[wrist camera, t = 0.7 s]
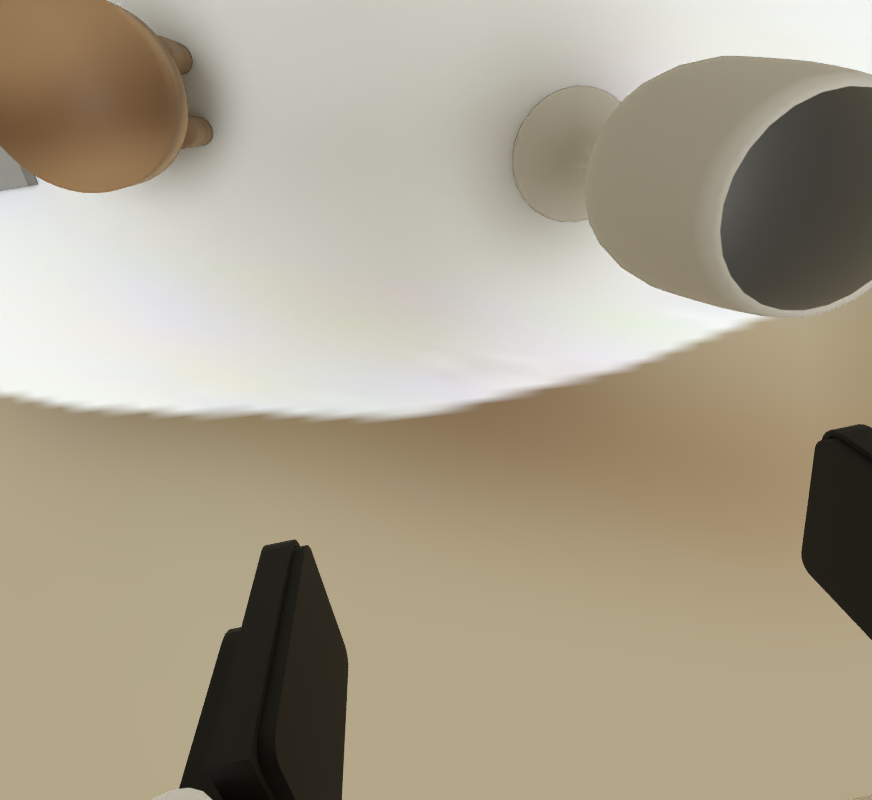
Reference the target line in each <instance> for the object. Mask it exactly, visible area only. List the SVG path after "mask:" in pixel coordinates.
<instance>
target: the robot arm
mask: <svg viewBox="0 0 872 800" xmlns="http://www.w3.org/2000/svg"><path fill="white" fill-rule="evenodd" d="M802 561H803V564H804V566H805V568H806V570H807V571H808V573H809V574H810V575H811V576H812V577H813V578H814V580H815V581H816V582H817V583H818V584H819V585H820V586H821V587H822V588H823V589H824V590H825V591H826V592H827V593H828V594H829V595H830V596H831V597H832V598H833V600H835V602H837V604H838V605H839V606H840V607H841V608H842V609H843V610H844V611H845V612H846V613H847V614H848V615H849V616H850V618H851V619H852V620H853V621H854V622H855V623H856V624H857V625H858V626H859V627H860V628H861V629H862V630H863V631H864V632H865V633H866V634H867V635H868V637H869V638H870V639H871V640H872V428H871V427H869V426H866V425H861V424H858V425H854V426H849V427H844V428H839V429H835V430H830V431H828V432H826V433H825V434H824V436H823V438H822V440H821V441H819V442H818V443H817V444H816V447H815V452H814V460H813V468H812V475H811V483H810V491H809V499H808V506H807V514H806V522H805V529H804V537H803V545H802ZM347 682H348V658H347V652H346V648H345V645H344V642H343V639H342V636H341V633H340V630H339V628H338V625H337V622H336V619H335V616H334V613H333V611H332V608H331V605H330V602H329V599H328V596H327V594H326V591H325V588H324V585H323V582H322V579H321V577H320V574H319V571H318V568H317V565H316V563H315V560H314V557H313V554H312V551H311V549H310V547H309V546H308V545H306V546H301V547H300V545H299V543H298V542H297V541H296V540H289V541H284V542H280V543H275V544H270V545H265V546H264V547H263V549H262V551H261V555H260V559H259V563H258V567H257V570H256V574H255V578H254V581H253V585H252V589H251V593H250V597H249V601H248V604H247V608H246V612H245V616H244V620H243V623H242V627H240V628H235V629H230V630H229V631H228V632H227V633H226V634H225V636H224V639H223V641H222V644H221V647H220V651H219V654H218V658H217V661H216V664H215V668H214V671H213V675H212V678H211V681H210V685H209V688H208V692H207V695H206V698H205V702H204V705H203V709H202V713H201V716H200V719H199V723H198V726H197V729H196V733H195V736H194V740H193V743H192V746H191V750H190V753H189V757H188V760H187V764H186V767H185V770H184V774H183V777H182V781H181V784H180V787H179V789H175V790H171V791H169V792H167V793H164V794H162V795H159V796H157V797H155V798H154V799H153V800H342V783H343V782H342V781H343V763H344V762H343V761H344V741H345V722H346V702H347ZM849 800H872V795H868V796H864V797H859V798H854V799H849Z"/></svg>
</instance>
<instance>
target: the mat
mask: <svg viewBox="0 0 872 800" xmlns="http://www.w3.org/2000/svg"><path fill="white" fill-rule="evenodd" d="M37 184H38V183H37V180H36V178H35V176H34V174H32V173H31V172H29V171H28V170H26V169H25V168H23V167H22V166H21V165H20V164H19V163H17V162H16V161H15V160H14V159H13V158H12V157H11V156H10V155H9V154H8V153H7V152H6V151H5V150H4V149H3V148H2V147H1V146H0V191H2V190H8V189H14V188H20V187H27V186H32V185H37Z"/></svg>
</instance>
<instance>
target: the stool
mask: <svg viewBox="0 0 872 800" xmlns="http://www.w3.org/2000/svg"><path fill="white" fill-rule="evenodd" d="M191 67H192V56H191V54H190V52H189V50H188V49H187V48H186V47H185V46H184V45H182V44H180V43H177V42H174V41H172V40H169V39H166V38H164V37H161V36H158V35H156V34H155V33H154V32H153V31H152V30H151V29H150V28H149V27H148V26H147V25H146V24H144V23H143V22H142V21H141V20H140V19H139V18H137V17H136V16H134V15H133V14H131V13H130V12H128V11H127V10H125V9H123V8H121V7H119V6H117V5H115V4H113V3H111V2H108V1H106V0H0V146H1V147H2V148H3V149H4V150H5V151H6V152H7V153H8V154H9V155H10V156H11V157H12V158H13V159H14V160H15V161H16V162H17V163H19V164H20V165H21V166H22V167H23V168H25V169H26V170H28V171H29V172H31V173H32V174H34V175H35V176H37V177H39V178H41V179H42V180H44V181H46V182H48V183H51V184H53V185H55V186H58V187H61V188H64V189H68V190H71V191H77V192H83V193H102V192H109V191H114V190H118V189H121V188H125V187H129V186H132V185H136V184H139V183H142V182H145V181H147V180H150V179H152V178H154V177H155V176H157V175H159V174H160V173H161V172H162V171H164V170H165V169H166V168H167V167H168V166H169V165H170V164H171V163H172V162H173V160H174V159H175V157H176V156H177V154H178V153H179V151H180V149H185V148H191V147H197V146H203V145H206V144H208V143H209V142H210V141H211V139H212V137H213V130H212V127H211V125H210V124H209V122H208V121H207V120H205V119H204V118H201V117H188V102H187V95H186V91H185V86H184V83H183V80H182V77H181V74H185V73H187V72H188V71H189V70H190V69H191Z"/></svg>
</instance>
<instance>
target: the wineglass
mask: <svg viewBox="0 0 872 800" xmlns="http://www.w3.org/2000/svg"><path fill="white" fill-rule="evenodd" d="M513 172H514V176H515V180H516V184H517V187H518V189H519V191H520V193H521V194H522V196H523V198H524V200H525V201H526V202H527V203H528V204H529V205H530V206H531V207H532V208H533V209H534V210H535V211H537V212H538V213H540V214H542V215H543V216H545V217H546V218H550V219H553V220H556V221H560V222H576V221H580V220H585V219H589V223H590V225H591V227H592V229H593V231H594V233H595V235H596V237H597V239H598V241H599V243H600V244H601V246H602V247H603V248H604V249H605V250H606V251H607V252H608V253H609V254H610V256H611V257H612V258H613V259H614V260H615V261H616V262H617V263H618V264H619V265H620V267H622V268H623V269H625V270H626V271H628V272H629V273H631V274H633V275H634V276H636V277H637V278H639V279H641V280H642V281H644V282H645V283H647V284H649V285H650V286H653V287H655V288H658V289H661V290H663V291H666V292H670V293H673V294H676V295H679V296H682V297H686V298H689V299H693V300H696V301H700V302H703V303H707V304H710V305H714V306H717V307H721V308H726V309H730V310H735V311H739V312H745V313H750V314H755V315H761V316H770V317H785V318H803V317H808V316H812V315H817V314H821V313H825V312H829V311H831V310H833V309H836V308H838V307H840V306H842V305H844V304H847V303H849V302H851V301H853V300H854V299H856V298H857V297H859V296H860V295H862V294H863V293H865V292H866V291H868V290H869V289H870V288H872V75H871V74H867V73H864V72H861V71H857V70H852V69H848V68H843V67H839V66H834V65H828V64H823V63H817V62H811V61H801V60H791V59H778V58H763V57H746V56H720V57H715V58H710V59H705V60H701V61H697V62H692V63H688V64H684V65H680V66H677V67H675V68H673V69H671V70H669V71H666V72H664V73H662V74H661V75H659V76H657V77H655V78H653V79H651V80H649V81H647V82H645V83H643V84H642V85H641V86H639V87H638V88H637V89H636V90H635V91H633V92H632V93H631V94H630V95H629V96H628V97H626V98H625V99H624V100H623V101H622V102H621V103H620V101H619V100H617V99H616V98H615V97H613V96H612V95H611V94H609V93H608V92H606V91H603V90H600V89H597V88H595V87H588V86H574V87H570V88H566V89H561V90H559V91H557V92H555V93H553V94H551V95H549V96H547V97H545V98H544V99H543V100H542V101H541V102H540V103H539V104H537V105H536V106H535V107H534V108H533V109H532V110H531V112H530V113H529V115H528V116H527V117H526V119H525V120H524V122H523V123H522V126H521V128H520V130H519V132H518V135H517V137H516V141H515V146H514V151H513Z"/></svg>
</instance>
